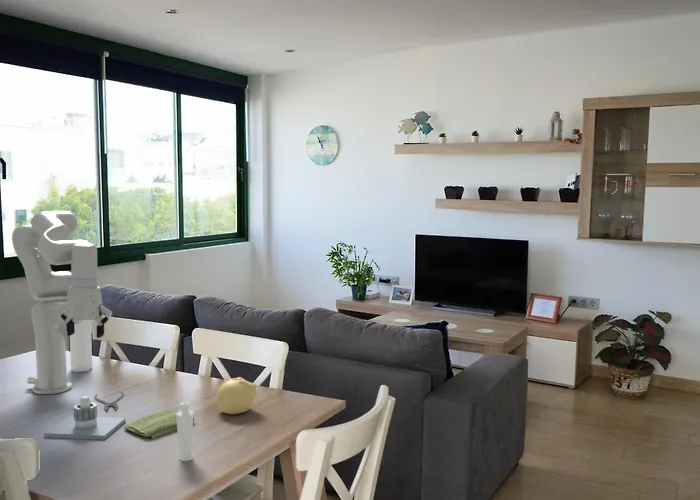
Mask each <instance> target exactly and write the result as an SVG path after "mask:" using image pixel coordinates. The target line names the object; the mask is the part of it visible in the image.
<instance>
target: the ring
mask: <svg viewBox="0 0 700 500" xmlns="http://www.w3.org/2000/svg"><path fill="white" fill-rule="evenodd" d="M72 408H73V410H72V411H73V416H74V420H76V421H88V420H92V419H95V418H96V417H98V403H96V402H91V401H90V407H89V408H80V402H79V403H76V404H75V405H73V407H72Z"/></svg>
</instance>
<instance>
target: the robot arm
mask: <svg viewBox="0 0 700 500" xmlns="http://www.w3.org/2000/svg"><path fill="white" fill-rule="evenodd" d="M77 231H78V220H77V218H76V216H75V215H74V213H72V212H71V211H68V210H52V211H51V210H45V211H41V212H40V211H39V212H37V213H35V214H34V215H33V217H32V218H31V220H30V224H24V225H19V226H17V227H16V228H14V229H13V231H12V234H11V240H12V241H11V242H12V247H13V250H14V253H15V254H16V256H17V258H18V259H19V261H20V263H21V265H22V267H23V269H24V274H25V278H26V281H27V285H28V290H29V294H30V295H31V298H33V299H34V300H35V301H36V300H38V301H40V302H37V303H36V304H35V305H33V306H32V308H31V311H30V316H31V321H32V325H33V332H34V342H35V358H36V364H35V365H36V377H35V376H28V377H27V381H26V382H27V384H28V385H30V384H31V385H34V386H33V387H32V392H33V393H35V394H36V395H54V394H60V393H64V392H67V391H69V390H71V389H72V387H73V383H71V382H70V381H68V377H67V375H68V374H67V351H66V338H65V336H64V335H63V334H62V333H61V332H60V331H59V330H58V328H61V327H66V328H65V329H66V333H67V334H66V335H67V337H70V335H72V334H74V333H75V328H74V325H75V324H79V323H81V322H83V321H84V320H91V321H95V322H96V324H97V325H96V338H97V339H100V338H102V337H103V336H104V335H105V324H107V322H108V321H109V320H110V318H111V317H112V315H113V311H112V310H110V309H109V308H107V307H106V306H104V305H103V298H102V292H101V289H100V286H98V248H97V245H96V244H95V243H91V242H90V241H89V240H86V239H72V240H70V239H71V238H72V237H73V236H74V235H75V233H76V232H77ZM36 248H37V249H36ZM51 265H53V266H61V265H70V266H71V269H70V271H66V270H64V271H63V270H61V271H53V270H52V266H51ZM43 300H45V301H43ZM103 313H104V314H105V316H104V317H103Z"/></svg>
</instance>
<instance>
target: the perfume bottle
mask: <svg viewBox="0 0 700 500" xmlns="http://www.w3.org/2000/svg"><path fill="white" fill-rule="evenodd" d="M189 404H190V402H186V401H183V402H181V403H180V410H179V411H178V413H176V421H177V430H176V431H177V440H178V450H179V454H178V460H180V462H186V461H192V460H193V458H194V455H193V450H192V449H193V448H192V447H193V430H194V429H193V428H194V427H193V426H194V422H193V417H194V411H193V410H191V409H189Z"/></svg>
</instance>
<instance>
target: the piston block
mask: <svg viewBox="0 0 700 500" xmlns="http://www.w3.org/2000/svg"><path fill="white" fill-rule="evenodd" d="M90 402H91V396H89V395H84V396H80V397H79V403H80V408H89V407H90ZM125 423H126V417H103V416H97V417H96V418H95V419H92V420H88V421H76V420H74V415H69V416H67V417H65V418H64V419H62V420H61V421H59V422H58V423H57V424H55V425H54V426H53V427H51V428H50V429H47V430H46V431H45V432H44V433H43V438H51V439H52V438H53V439H54V438H55V439H56V438H58V439H78V440H79V439H80V440H82V439H83V440H99V441H100V440H103V441H105V440H106V439H107V438H108V437H110V436H111V435H112V434H114V432H116V430H118V429H119V428H120V427H121V426H123V425H124V424H125Z"/></svg>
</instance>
